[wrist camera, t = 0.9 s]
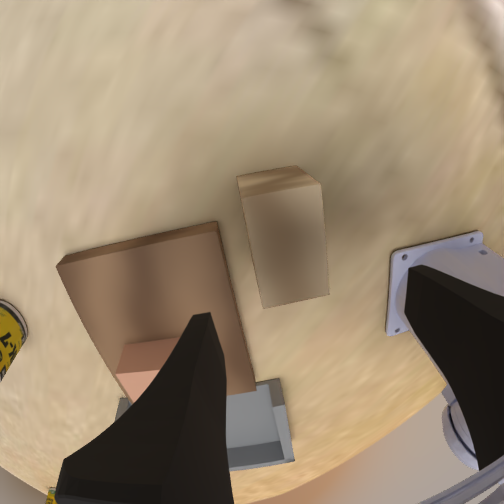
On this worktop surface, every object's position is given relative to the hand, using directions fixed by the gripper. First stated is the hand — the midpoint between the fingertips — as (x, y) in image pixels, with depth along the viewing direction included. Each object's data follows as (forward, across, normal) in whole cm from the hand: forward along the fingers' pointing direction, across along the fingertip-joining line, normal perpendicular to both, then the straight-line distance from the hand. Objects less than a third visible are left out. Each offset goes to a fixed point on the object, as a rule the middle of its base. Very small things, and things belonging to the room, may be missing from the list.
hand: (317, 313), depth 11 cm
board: (+10, +9, +6) cm, 15 cm away
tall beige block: (+10, 0, 0) cm, 10 cm away
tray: (+10, +9, +19) cm, 24 cm away
